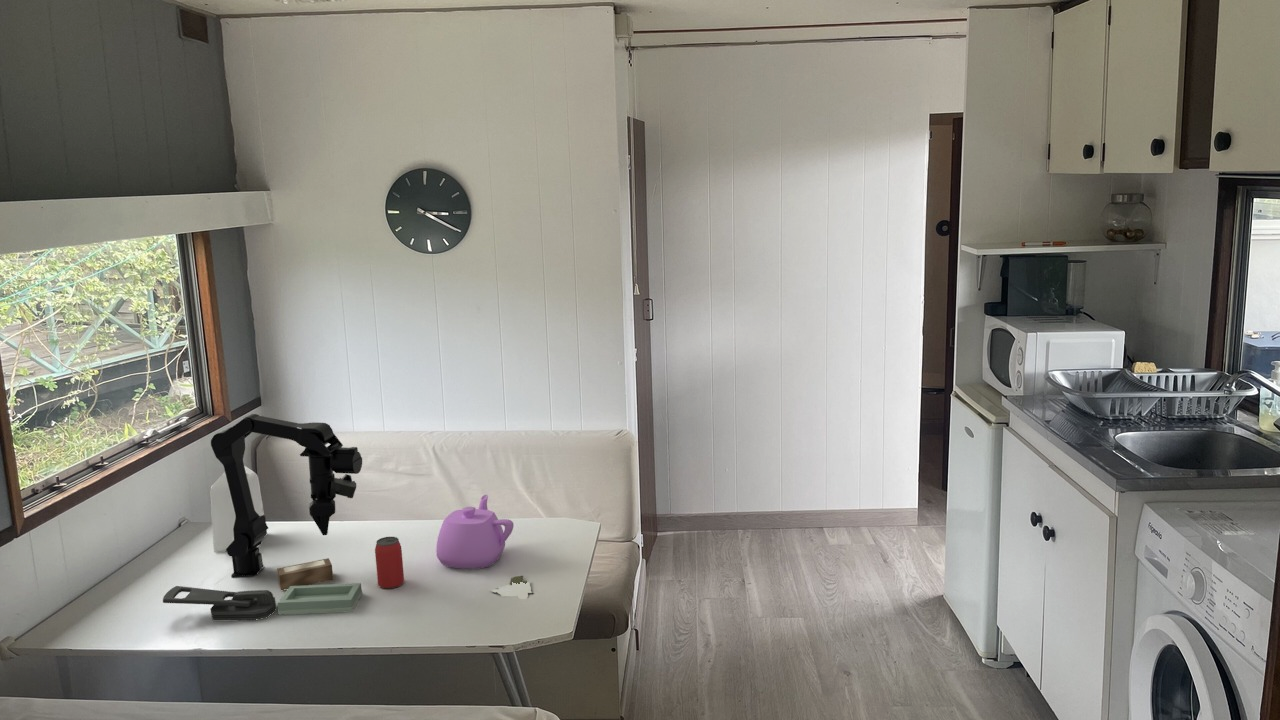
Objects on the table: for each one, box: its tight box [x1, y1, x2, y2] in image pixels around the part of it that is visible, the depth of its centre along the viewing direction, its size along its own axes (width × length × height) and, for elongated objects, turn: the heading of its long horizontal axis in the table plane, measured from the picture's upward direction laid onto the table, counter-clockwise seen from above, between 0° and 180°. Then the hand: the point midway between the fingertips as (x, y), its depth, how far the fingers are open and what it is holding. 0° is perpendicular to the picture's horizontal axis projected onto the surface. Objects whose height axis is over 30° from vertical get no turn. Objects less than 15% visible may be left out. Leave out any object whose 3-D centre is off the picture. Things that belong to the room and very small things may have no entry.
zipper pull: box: [162, 585, 277, 621], centre depth 229 cm, size 9×7×25 cm
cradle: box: [277, 582, 363, 616], centre depth 233 cm, size 18×10×3 cm, turn 92°
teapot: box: [435, 494, 514, 569], centre depth 259 cm, size 23×21×15 cm
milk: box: [209, 464, 265, 553], centre depth 273 cm, size 12×12×26 cm
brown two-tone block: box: [276, 558, 334, 591], centre depth 247 cm, size 13×5×5 cm, turn 117°
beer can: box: [374, 536, 405, 590], centre depth 243 cm, size 7×7×12 cm
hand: (325, 528), depth 249 cm, fingers open, 9 cm apart
